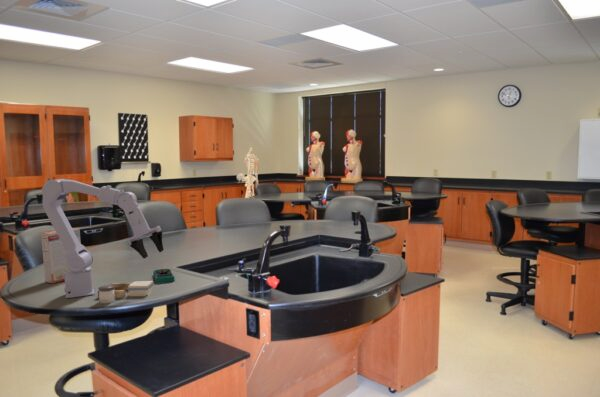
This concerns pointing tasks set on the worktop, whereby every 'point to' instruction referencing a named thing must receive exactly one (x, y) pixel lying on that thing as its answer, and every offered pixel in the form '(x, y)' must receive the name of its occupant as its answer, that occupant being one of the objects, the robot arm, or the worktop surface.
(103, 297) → the jar
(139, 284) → the carton
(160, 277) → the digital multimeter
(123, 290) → the display stand
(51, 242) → the cracker box
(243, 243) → the worktop surface
